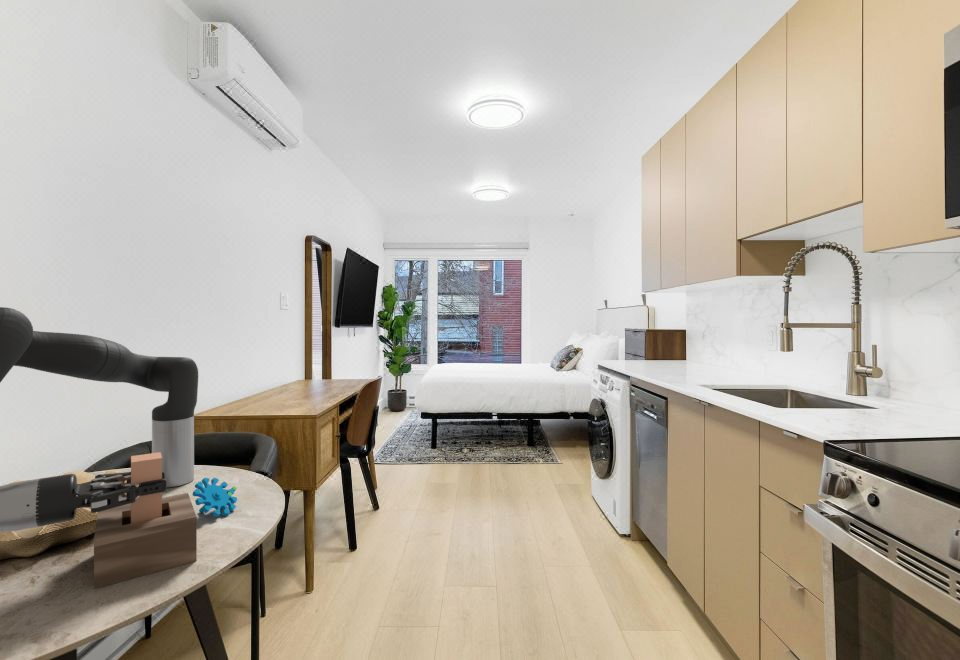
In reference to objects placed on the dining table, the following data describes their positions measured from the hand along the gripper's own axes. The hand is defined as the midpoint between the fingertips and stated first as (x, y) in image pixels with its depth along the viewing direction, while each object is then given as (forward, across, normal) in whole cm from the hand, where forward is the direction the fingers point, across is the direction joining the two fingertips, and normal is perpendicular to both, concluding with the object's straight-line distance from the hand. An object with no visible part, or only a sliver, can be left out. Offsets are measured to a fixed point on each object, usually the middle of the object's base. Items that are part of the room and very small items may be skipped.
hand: (164, 480), depth 83 cm
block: (-3, 0, +7) cm, 8 cm away
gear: (+10, +14, +14) cm, 22 cm away
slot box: (-3, 0, +13) cm, 14 cm away
